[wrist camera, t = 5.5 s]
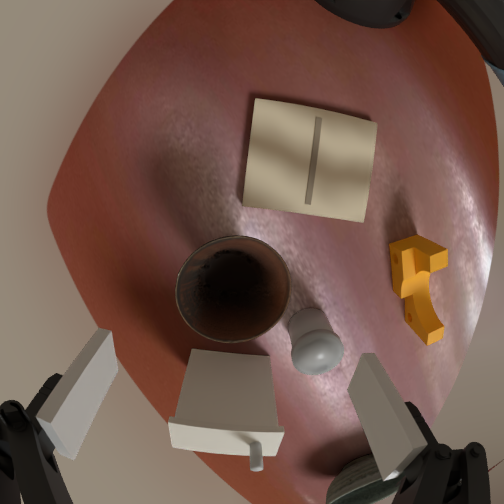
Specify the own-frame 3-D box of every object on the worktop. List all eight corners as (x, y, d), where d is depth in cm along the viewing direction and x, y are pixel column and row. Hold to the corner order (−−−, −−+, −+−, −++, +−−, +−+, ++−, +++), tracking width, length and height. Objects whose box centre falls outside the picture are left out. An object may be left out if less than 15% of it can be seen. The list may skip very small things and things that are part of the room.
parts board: (254, 100, 25) (255, 98, 24) (373, 124, 26) (377, 123, 25) (242, 204, 28) (242, 206, 27) (359, 220, 29) (363, 222, 28)
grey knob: (288, 305, 32) (296, 334, 26) (334, 306, 32) (349, 334, 26) (282, 343, 34) (288, 375, 28) (325, 343, 34) (337, 373, 28)
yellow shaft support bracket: (388, 243, 30) (416, 261, 24) (416, 234, 30) (447, 249, 24) (393, 324, 34) (415, 351, 28) (419, 314, 34) (442, 338, 27)
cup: (295, 250, 30) (317, 289, 21) (242, 307, 32) (241, 362, 22) (231, 196, 28) (225, 213, 19) (180, 260, 30) (153, 302, 21)
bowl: (324, 451, 43) (334, 491, 33) (414, 428, 43) (431, 460, 33) (312, 488, 49) (318, 519, 39) (387, 470, 49) (398, 497, 39)
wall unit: (188, 345, 33) (162, 446, 18) (273, 353, 34) (287, 457, 19) (189, 372, 35) (167, 469, 20) (267, 380, 36) (277, 478, 20)
